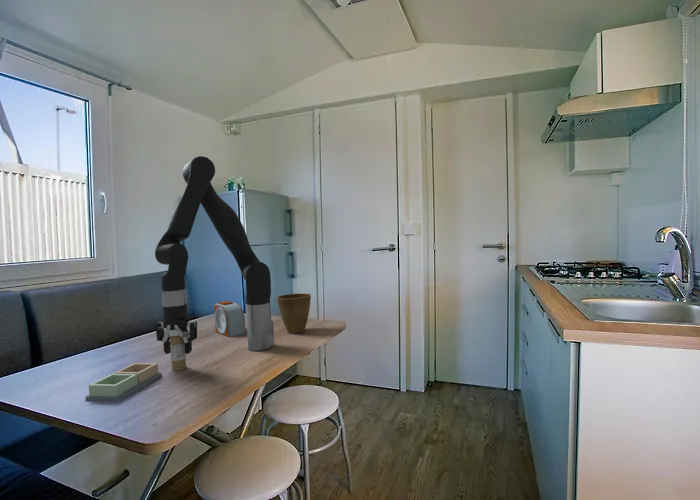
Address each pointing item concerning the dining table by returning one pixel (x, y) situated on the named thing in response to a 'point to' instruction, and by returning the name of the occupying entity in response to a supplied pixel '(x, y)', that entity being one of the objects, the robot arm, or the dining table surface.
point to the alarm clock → (229, 318)
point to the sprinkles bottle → (177, 351)
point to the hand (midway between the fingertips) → (178, 353)
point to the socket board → (123, 382)
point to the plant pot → (294, 311)
